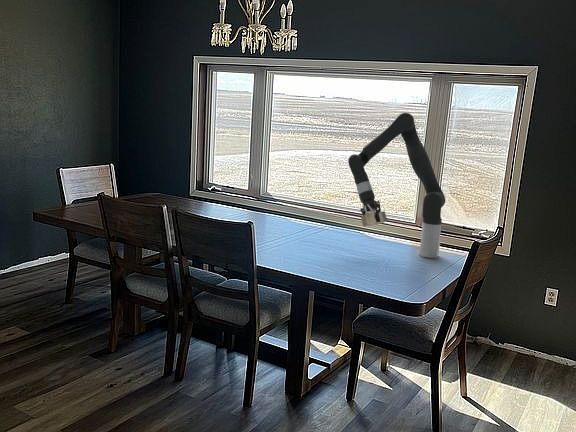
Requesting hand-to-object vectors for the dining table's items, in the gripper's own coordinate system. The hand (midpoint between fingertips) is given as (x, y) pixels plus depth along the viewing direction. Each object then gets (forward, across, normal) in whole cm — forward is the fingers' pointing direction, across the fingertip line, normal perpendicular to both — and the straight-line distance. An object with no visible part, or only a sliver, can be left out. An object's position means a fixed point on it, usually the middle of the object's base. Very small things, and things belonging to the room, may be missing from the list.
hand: (375, 223), depth 296 cm
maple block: (-3, 0, +6) cm, 7 cm away
